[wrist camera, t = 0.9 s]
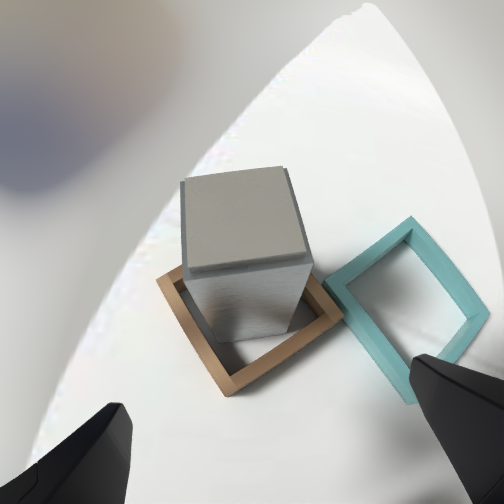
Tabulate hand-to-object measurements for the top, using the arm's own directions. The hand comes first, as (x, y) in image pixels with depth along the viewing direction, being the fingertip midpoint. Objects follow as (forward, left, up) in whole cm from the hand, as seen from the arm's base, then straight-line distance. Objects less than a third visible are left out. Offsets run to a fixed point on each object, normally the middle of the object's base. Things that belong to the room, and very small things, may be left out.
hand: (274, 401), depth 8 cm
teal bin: (-1, -14, -13) cm, 19 cm away
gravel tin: (+7, -3, -13) cm, 15 cm away
